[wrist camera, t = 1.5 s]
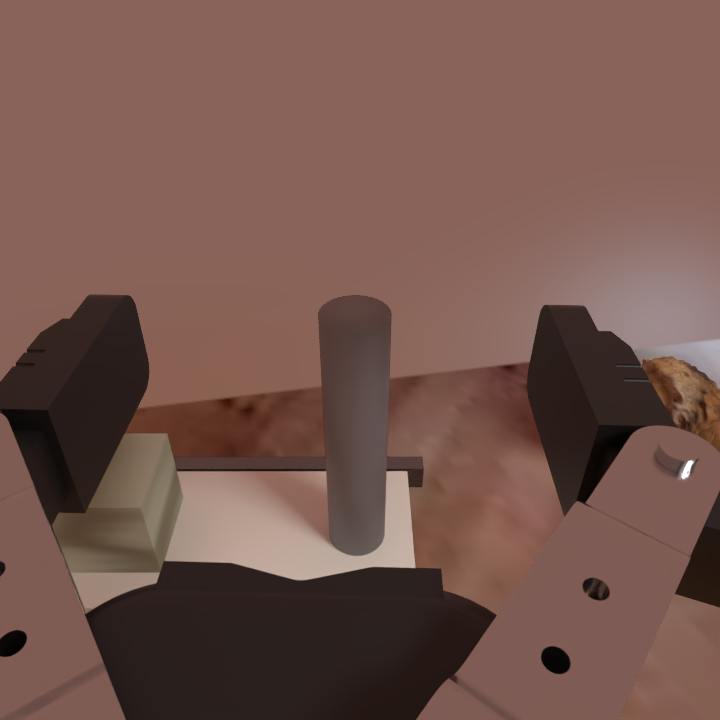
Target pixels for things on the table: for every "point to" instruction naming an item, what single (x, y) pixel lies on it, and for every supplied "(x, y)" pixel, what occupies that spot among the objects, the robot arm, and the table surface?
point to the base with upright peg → (304, 480)
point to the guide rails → (291, 465)
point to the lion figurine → (687, 396)
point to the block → (126, 511)
